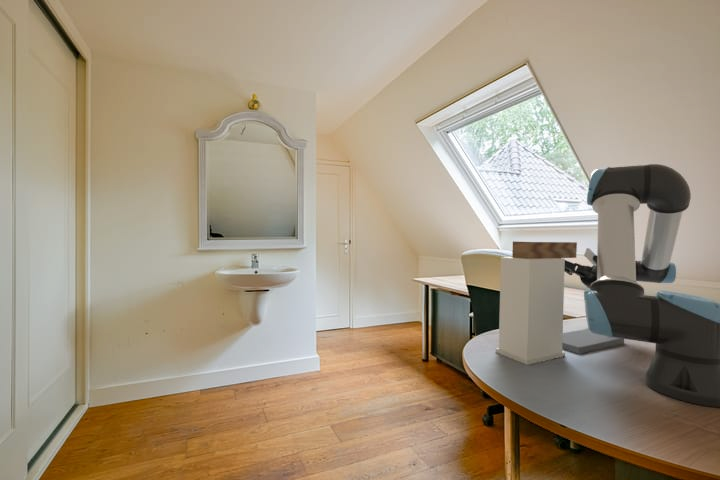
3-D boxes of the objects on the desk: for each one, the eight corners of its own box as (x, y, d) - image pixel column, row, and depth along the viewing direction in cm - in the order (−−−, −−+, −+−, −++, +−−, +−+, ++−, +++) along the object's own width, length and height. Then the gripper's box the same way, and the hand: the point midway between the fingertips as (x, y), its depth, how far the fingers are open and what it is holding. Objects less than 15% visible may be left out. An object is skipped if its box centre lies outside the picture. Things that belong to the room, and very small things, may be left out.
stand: (532, 345, 113) (534, 256, 112) (565, 356, 103) (567, 258, 102) (495, 352, 105) (498, 257, 105) (527, 364, 95) (530, 259, 94)
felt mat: (587, 333, 127) (587, 328, 127) (624, 343, 117) (624, 337, 117) (543, 342, 116) (543, 336, 116) (578, 353, 105) (579, 347, 105)
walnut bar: (561, 256, 114) (561, 242, 113) (576, 257, 109) (576, 242, 109) (512, 257, 103) (512, 241, 103) (526, 258, 98) (527, 241, 98)
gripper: (634, 295, 107) (602, 263, 99) (559, 285, 130) (527, 258, 122) (641, 275, 109) (610, 242, 101) (565, 268, 131) (535, 240, 123)
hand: (565, 250), depth 111 cm, fingers open, 13 cm apart
